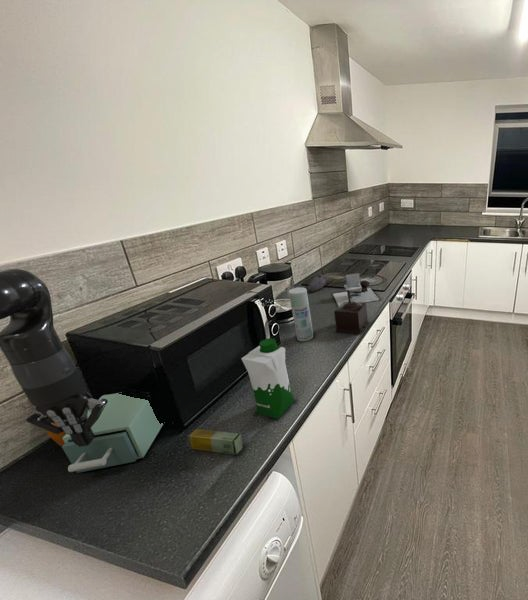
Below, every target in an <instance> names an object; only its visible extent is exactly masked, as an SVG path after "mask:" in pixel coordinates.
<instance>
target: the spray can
mask: <svg viewBox="0 0 528 600" xmlns="http://www.w3.org/2000/svg"><path fill="white" fill-rule="evenodd" d="M288 297H289V302H290V307H291V312H292V318H293V324H294V328H295V329H294V330H295V334H296V339H297V340H298V341H299V342H306V341H307V342H308V341H310V340H312V339H313V338H314V331H313V330H314V329H313V323H312V315H311V310H310V304H309V297H308V288H306V287H303V286H302V287H301V286H300V287H299V286H298V287H293V288H291V289H289V290H288Z"/></svg>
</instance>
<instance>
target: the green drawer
mask: <svg viewBox="0 0 528 600" xmlns="http://www.w3.org/2000/svg"><path fill="white" fill-rule="evenodd" d="M61 449H62V450H63V452H64V453H65V455H66V457H67V459H68V461H69V462H70V463H71V464H69V465H68V467H67V471H68V472H69V473H73V472H76V474H79V473H84V472H89V471H94V470H99V469H100V470H101V469H104V468H109V467H115V466H120V465H124V464H129V463H134V462H136V461H137V460H138V459H137V458H138V456H137V454H136V453H137V451H136V449H135V447H134V445H133V443H132V441H131V439H130V437H129V434H128V432H127V430H122V431H116V432H110V433H105V434H99V435H95V437H94V438H93V440H92V442H91V443H90V444H89V445H87V446H82V447H79V446H78V445H76V444H75V443H74V442H67V443H65V444H64V445H63V446H61Z"/></svg>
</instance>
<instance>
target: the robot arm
mask: <svg viewBox="0 0 528 600" xmlns="http://www.w3.org/2000/svg"><path fill="white" fill-rule="evenodd" d="M6 318H9V323H8V324H7V325H6V326H5V327H4V328H3V329H2V330H1V331H0V350H1V353H2V354H3V355H4V357H5V359H6V361H7V362H8V364H9V366H10V368H11V372H12V374H13V376H14V378H15V379H16V381H17V383H18V385H19V386H20V388H21V390H22V391H23V393H24V394H25V397H26V398H27V400H28V401H29V403H30V404H31V406H34V407H35V408H34V409H35V411H33V412H32V413H31V414H30V415H29V416H27V418H26V419H25V421H26V422H27V423H29V424H31V425H34V426H35V427H38V428H41V429H42V430H44V431H46V430H48V431H50V432H52V433H55V434H60V433H61V432H65V433H66V434H68V435H70V436H71V438H72V439H73V442H74V443H75V444H76V445H78V446H79V447H82V446H87V445H89V444H90V443H91V442H92V440H93V438H94V437H95V435H94V433H93V431H92V429H91V427H92V426H93V425H94V423H95V422H96V421H97V420H98V419H99V417H100V415H101V413H102V411H103V409H104V408H105V406H106V404H107V402H108V400H107V399H101V400H100V401H99V399H95V398H92V395H91V393H89V392H88V391H87V390H86V388H85V387H86V386H85V385H86V384H85V381H84V379H83V377H82V375H81V373H80V371H79V369H78V368H77V366H76V364H75V362H74V360H73V358H72V356H71V354H70V353H69V352H68V351H67V349H66V348H65V346H64V344H63V342H62V340H61V339H60V337H59V335H58V333H57V331H56V328H55V327H54V313H53V306H52V297H51V293H50V290H49V288H48V286H47V284H46V283H45V282H44V280H43V279H42V278H41V277H39V276H38V275H37V274H35V273H34V272H32V271H30V270H27V269H23V268H10V269H5V270H1V271H0V320H1V321H2V320H4V319H6ZM89 409H90V410H89ZM88 410H89V412H91V414H90V415H89V417H88V416H87V415H88ZM51 423H55V424H56V425H57V426H58V427H57V426H54V425H52V424H51Z"/></svg>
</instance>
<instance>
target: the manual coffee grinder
mask: <svg viewBox="0 0 528 600" xmlns="http://www.w3.org/2000/svg"><path fill="white" fill-rule="evenodd" d="M360 285H361V287H362V288H361V289H362V290H361V291H358V292H353V293H350V290H347V291H346V292H347V295H348V299H349V302H343V303H342V304H341V305H340V306H338V307H337V308H336V309H334V311H333V313H334V319H335V320H334V321H335V329H336V333H343V334H355V335H356V334H358V335H359V334H361V333H363V331H364V330H365V329H366V327H367V325H368V323H369V321H368V312H367V311H368V310H367V302H365V303H359V302H354V301H351V297H350V295H353V294H357V293H362V292H364V293H365V292H366V291H368V290H367V288H369V286H370V282H369V281H368V280H365V279H364V280H360Z"/></svg>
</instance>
